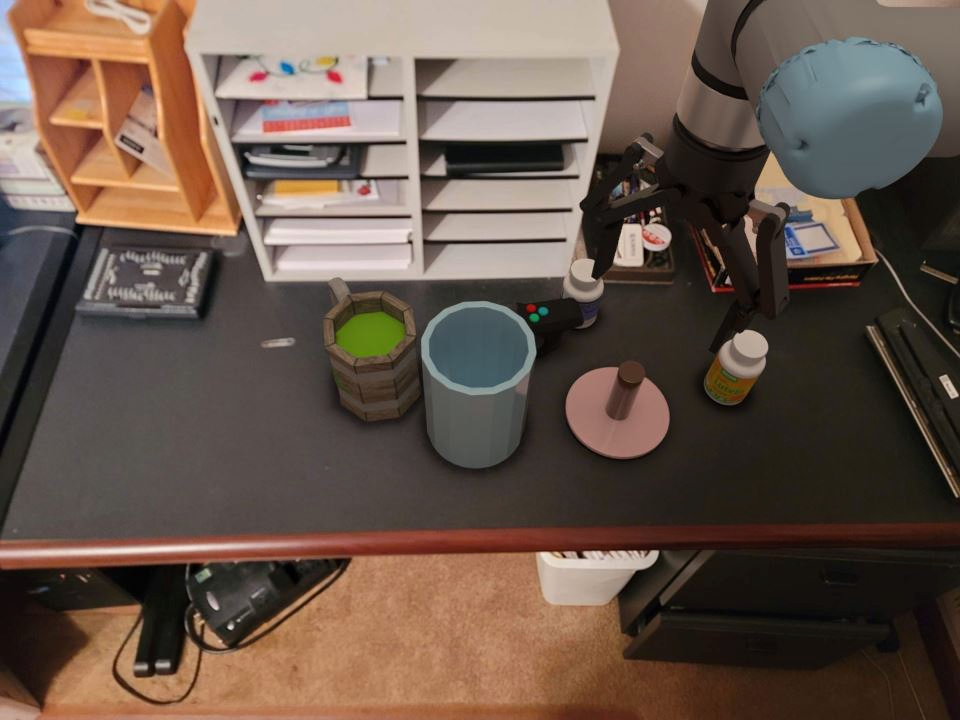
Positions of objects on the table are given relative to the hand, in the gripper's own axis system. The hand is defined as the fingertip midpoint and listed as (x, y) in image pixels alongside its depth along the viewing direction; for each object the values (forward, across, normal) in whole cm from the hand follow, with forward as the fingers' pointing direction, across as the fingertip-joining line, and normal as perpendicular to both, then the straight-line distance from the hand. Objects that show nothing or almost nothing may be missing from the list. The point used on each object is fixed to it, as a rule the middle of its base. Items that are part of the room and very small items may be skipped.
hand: (658, 306), depth 69 cm
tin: (+21, +12, +13) cm, 27 cm away
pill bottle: (+21, +13, -9) cm, 26 cm away
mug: (+21, +27, +16) cm, 38 cm away
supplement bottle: (+21, -8, -12) cm, 26 cm away
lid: (+20, 0, 0) cm, 20 cm away
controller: (+21, +14, 0) cm, 25 cm away
